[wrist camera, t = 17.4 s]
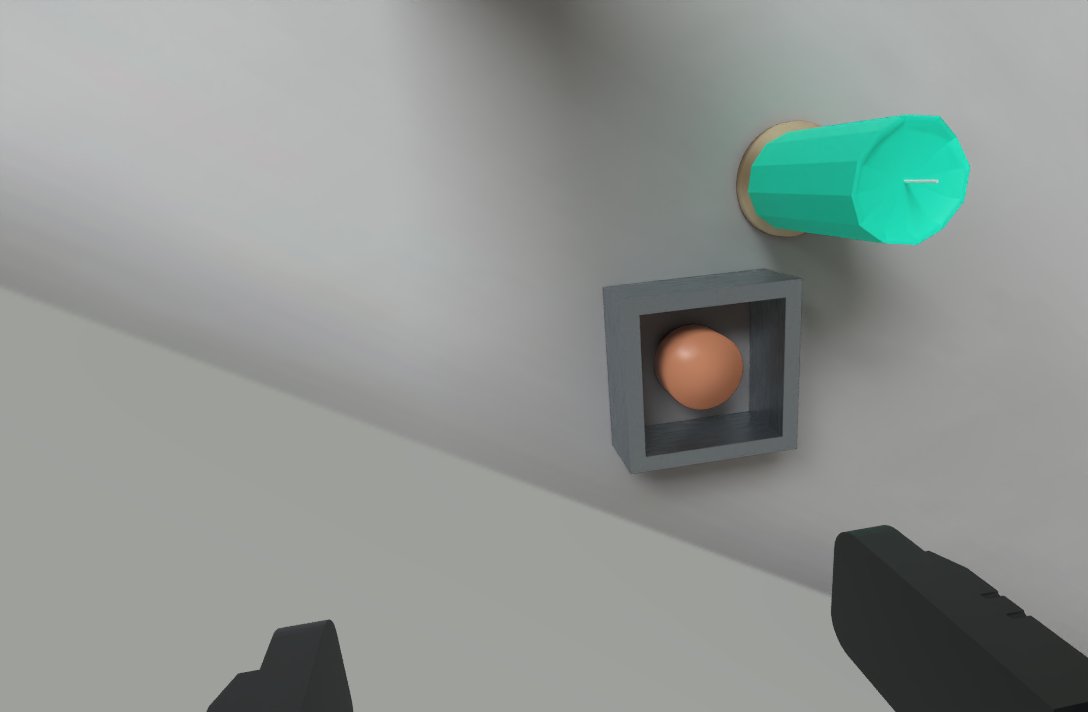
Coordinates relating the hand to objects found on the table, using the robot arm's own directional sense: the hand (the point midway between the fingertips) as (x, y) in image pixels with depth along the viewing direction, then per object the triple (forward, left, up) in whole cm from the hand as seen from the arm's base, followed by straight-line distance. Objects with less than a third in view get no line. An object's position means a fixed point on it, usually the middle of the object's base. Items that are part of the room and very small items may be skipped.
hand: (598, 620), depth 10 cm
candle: (-5, +20, -30) cm, 36 cm away
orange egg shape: (+6, +13, -30) cm, 33 cm away
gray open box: (+6, +13, -30) cm, 33 cm away
